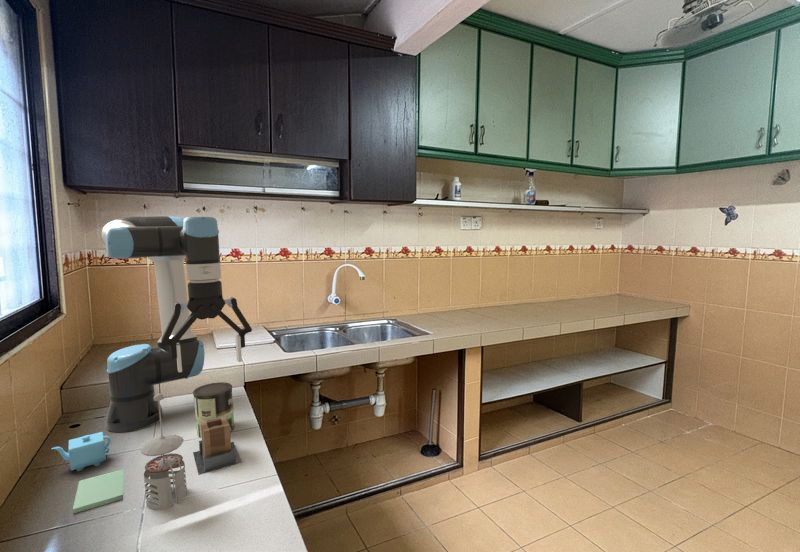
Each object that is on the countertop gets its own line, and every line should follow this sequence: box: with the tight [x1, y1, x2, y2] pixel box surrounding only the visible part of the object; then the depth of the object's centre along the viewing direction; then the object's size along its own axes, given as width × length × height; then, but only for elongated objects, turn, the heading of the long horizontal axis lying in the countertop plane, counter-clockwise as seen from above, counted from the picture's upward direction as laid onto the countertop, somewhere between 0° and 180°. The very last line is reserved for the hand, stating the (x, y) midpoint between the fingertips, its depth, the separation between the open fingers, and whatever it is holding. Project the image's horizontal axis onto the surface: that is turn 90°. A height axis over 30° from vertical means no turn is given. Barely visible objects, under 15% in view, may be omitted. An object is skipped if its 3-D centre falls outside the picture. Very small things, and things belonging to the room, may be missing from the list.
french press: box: [139, 393, 188, 510], centre depth 89 cm, size 10×12×25 cm
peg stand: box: [192, 425, 243, 476], centre depth 106 cm, size 12×10×10 cm
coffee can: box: [192, 382, 235, 439], centre depth 121 cm, size 10×10×14 cm
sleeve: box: [200, 416, 232, 457], centre depth 106 cm, size 6×6×9 cm
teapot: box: [51, 431, 112, 472], centre depth 106 cm, size 12×6×8 cm, turn 128°
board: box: [72, 468, 126, 514], centre depth 96 cm, size 12×10×1 cm
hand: (210, 365), depth 104 cm, fingers open, 13 cm apart
